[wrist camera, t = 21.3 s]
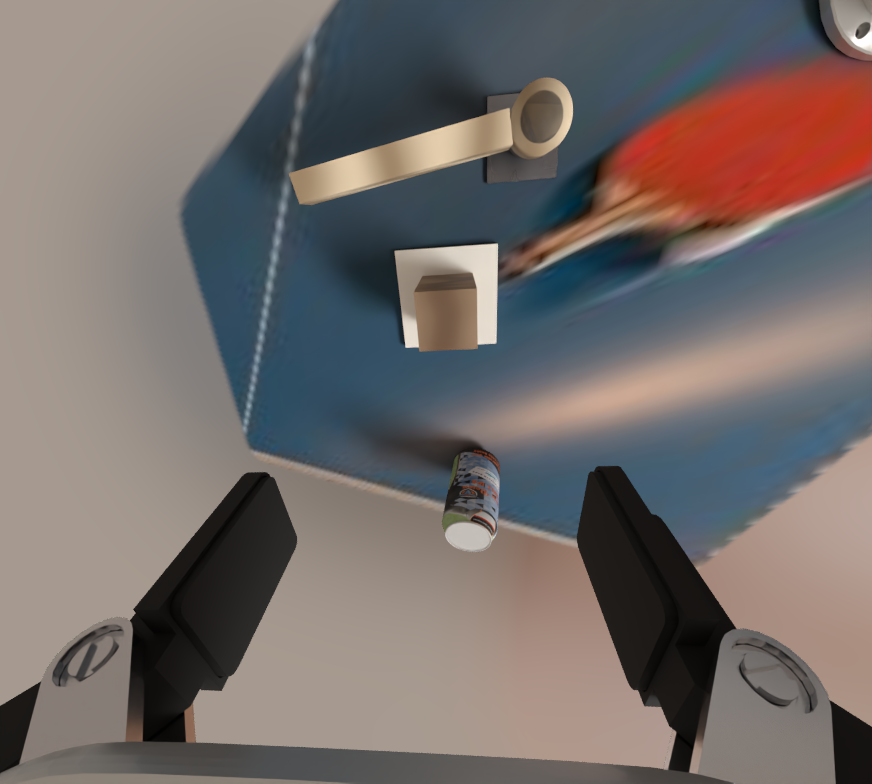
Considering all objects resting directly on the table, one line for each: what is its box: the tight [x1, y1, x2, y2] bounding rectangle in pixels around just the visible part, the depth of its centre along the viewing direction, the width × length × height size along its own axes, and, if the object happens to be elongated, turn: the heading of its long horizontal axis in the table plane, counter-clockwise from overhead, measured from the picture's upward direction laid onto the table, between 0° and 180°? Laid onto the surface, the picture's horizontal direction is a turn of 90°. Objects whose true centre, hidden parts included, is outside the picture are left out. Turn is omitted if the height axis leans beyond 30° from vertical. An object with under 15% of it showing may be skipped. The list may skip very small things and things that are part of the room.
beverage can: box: [442, 448, 500, 552], centre depth 40 cm, size 6×7×12 cm
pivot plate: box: [487, 93, 559, 184], centre depth 28 cm, size 6×6×1 cm
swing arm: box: [289, 78, 573, 205], centre depth 26 cm, size 20×4×6 cm, turn 103°
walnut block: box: [414, 273, 478, 351], centre depth 31 cm, size 5×5×8 cm
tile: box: [395, 243, 498, 348], centre depth 35 cm, size 10×10×1 cm
